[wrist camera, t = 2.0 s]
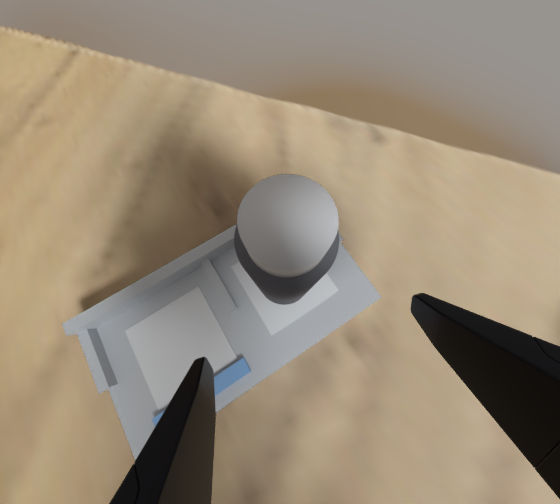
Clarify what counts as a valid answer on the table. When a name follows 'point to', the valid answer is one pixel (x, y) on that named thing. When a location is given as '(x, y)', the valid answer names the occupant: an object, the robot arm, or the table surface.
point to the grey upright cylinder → (286, 236)
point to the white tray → (205, 329)
